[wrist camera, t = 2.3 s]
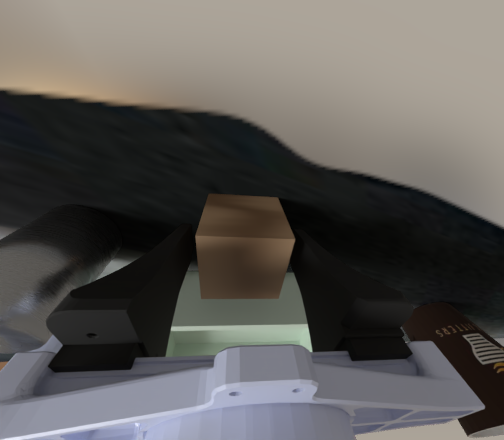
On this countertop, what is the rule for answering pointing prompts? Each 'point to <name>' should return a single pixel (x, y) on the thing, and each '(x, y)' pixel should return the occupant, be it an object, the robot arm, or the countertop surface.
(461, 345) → the coffee mug
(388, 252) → the countertop surface
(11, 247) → the grey metal cylinder
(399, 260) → the countertop surface
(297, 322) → the green tote
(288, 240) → the brown cube
